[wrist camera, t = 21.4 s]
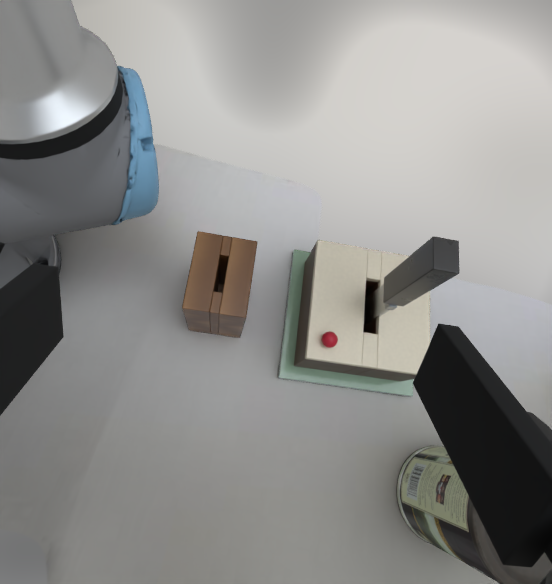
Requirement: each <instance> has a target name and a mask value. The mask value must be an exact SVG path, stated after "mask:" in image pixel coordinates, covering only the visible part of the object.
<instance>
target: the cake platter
mask: <svg viewBox="0 0 552 584" xmlns="http://www.w3.org/2000/svg"><path fill="white" fill-rule="evenodd" d="M310 253H311V252H305V251H299V250H294V251H293V256H292V264H291V273H290V281H289V290H288V298H287V307H286V315H285V323H284V332H283V340H282V349H281V357H280V366H279V374H278V378H279V379H287V380H294V381H301V382H308V383H315V384H322V385H329V386H336V387H343V388H351V389H358V390H365V391H372V392H379V393H386V394H393V395H400V396H408V397H411V396H413V379H411V380H406V381H394V380H387V379H380V378H373V377H366V376H359V375H352V374H345V373H338V372H331V371H324V370H317V369H310V368H304V367H297V366H294V359H295V349H296V340H297V331H298V321H299V312H300V303H301V293H302V284H303V275H304V265H305V261H306V260H307V258H308V256H309V255H310Z"/></svg>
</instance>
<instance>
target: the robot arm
mask: <svg viewBox="0 0 552 584" xmlns="http://www.w3.org/2000/svg"><path fill="white" fill-rule="evenodd" d="M158 194H159V182H158V169H157V160H156V153H155V148H154V145H153V136H152V125H151V120H150V114H149V109H148V105H147V100H146V96H145V92H144V88H143V85H142V82H141V79H140V77H139V75H138V74H137V72H136V71H134V70H133V69H130V68H124V67H121V66H117V64H116V61H115V59H114V56H113V54H112V52H111V51H110V49H109V48H108V46H107V45H106V43H105V42H103V41H102V40H101V39H100V38H99V37H98V36H97V35H95V34H94V33H93V32H91V31H89V30H88V29H86V28H83V27H82V26H80V25H79V22H78V19H77V16H76V13H75V11H74V7H73V4H72V1H71V0H0V415H1V414H2V413H3V411H4V410H5V409H6V408H7V406H8V405H9V404H10V403H11V401H12V400H13V399H14V398H15V396H16V395H17V394H18V393H19V392H20V390H21V389H22V388H23V387H24V385H25V384H26V383H27V382H28V380H29V379H30V378H31V377H32V375H33V374H34V373H35V372H36V370H37V369H38V368H39V367H40V365H41V364H42V363H43V362H44V360H45V359H46V358H47V357H48V355H49V354H50V353H51V352H52V350H53V349H54V348H55V347H56V345H57V344H58V343H59V342H60V340H61V339H62V338H63V325H62V311H61V297H60V284H59V273H60V268H61V253H60V248H59V244H58V242H57V239H56V237H55V235H56V234H62V233H67V232H73V231H78V230H84V229H89V228H95V227H100V226H106V225H116V224H119V223H121V222H122V221H124V220H127V219H131V218H135V217H139V216H143V215H146V214H148V213H150V212H151V211H152V210H153V209H154V207H155V206H156V204H157V201H158ZM413 384H414V386H415V388H416V390H417V392H418V394H419V396H420V398H421V401H422V403H423V405H424V407H425V409H426V411H427V413H428V415H429V417H430V419H431V421H432V423H433V425H434V427H435V429H436V431H437V433H438V435H439V437H440V439H441V441H442V443H443V445H444V447H445V449H446V451H447V453H448V455H449V457H450V459H451V461H452V463H453V465H454V467H455V469H456V471H457V473H458V475H459V477H460V479H461V481H462V483H463V485H464V487H465V489H466V491H467V493H468V495H469V497H470V499H471V502H472V504H473V506H474V508H475V510H476V512H477V514H478V516H479V518H480V520H481V522H482V524H483V526H484V528H485V530H486V532H487V534H488V536H489V538H490V540H491V542H492V544H493V546H494V548H495V550H496V552H497V554H498V556H499V558H500V560H501V562H502V564H503V565H509V566H520V567H533V566H534V564H535V563H536V562H537V561H538V560H539V558H540V557H541V556H542V555H543V554H544V552H545V554H546V556H547V557H548V559H549V561H550V562H551V564H552V430H551V429H550V427H549V426H547V425H546V424H545V423H544V422H542V421H541V420H540V419H539V418H537V417H536V416H535V415H534V414H533V413H530V412H526V411H525V409H524V408H523V407H522V406H521V404H520V403H519V402H518V401H517V399H516V398H515V397H514V395H513V394H512V393H511V392H510V390H509V389H508V388H507V387H506V385H505V384H504V383H503V382H502V380H501V379H500V378H499V377H498V375H497V374H496V373H495V372H494V370H493V369H492V368H491V367H490V365H489V364H488V363H487V362H486V360H485V359H484V358H483V357H482V355H481V354H480V353H479V352H478V350H477V349H476V348H475V347H474V345H473V344H472V343H471V342H470V340H469V339H468V338H467V337H466V335H465V334H464V333H463V332H462V330H461V329H460V328H459V327H457V326H450V325H444V324H438V326H437V328H436V331H435V333H434V335H433V338H432V340H431V342H430V345H429V347H428V349H427V351H426V354H425V356H424V358H423V361H422V363H421V365H420V368H419V370H418V372H417V374H416V377H415V379H414V381H413ZM539 584H552V569H551V570H550V571H549V572H548V574H547V575H546V576H545V577H544V578H543V579H542V580H541V581H540V583H539Z"/></svg>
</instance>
